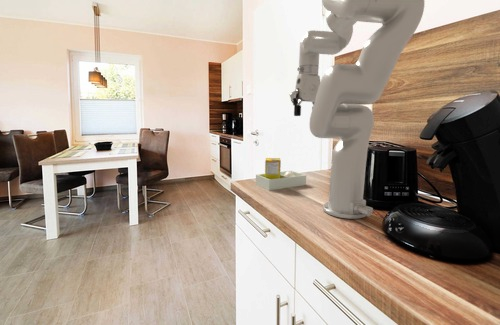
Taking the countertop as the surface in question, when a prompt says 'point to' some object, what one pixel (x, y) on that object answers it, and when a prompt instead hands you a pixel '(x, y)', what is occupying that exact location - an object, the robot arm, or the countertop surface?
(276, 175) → the supplement box
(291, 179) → the tray
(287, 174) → the egg
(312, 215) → the countertop surface
